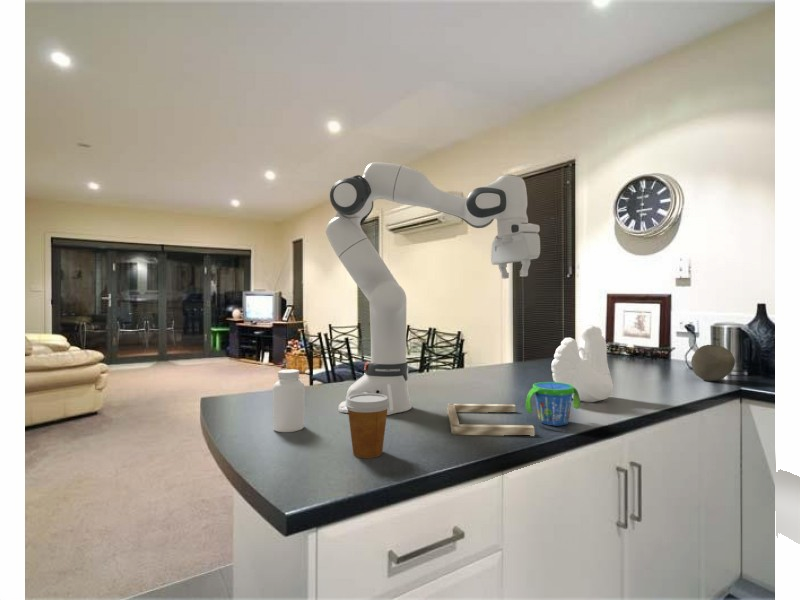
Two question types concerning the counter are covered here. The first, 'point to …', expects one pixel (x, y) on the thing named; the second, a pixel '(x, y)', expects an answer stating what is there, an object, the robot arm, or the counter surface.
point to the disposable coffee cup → (367, 423)
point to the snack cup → (553, 402)
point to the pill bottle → (288, 402)
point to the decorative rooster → (584, 365)
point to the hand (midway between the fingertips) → (514, 277)
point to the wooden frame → (485, 429)
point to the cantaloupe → (712, 362)
